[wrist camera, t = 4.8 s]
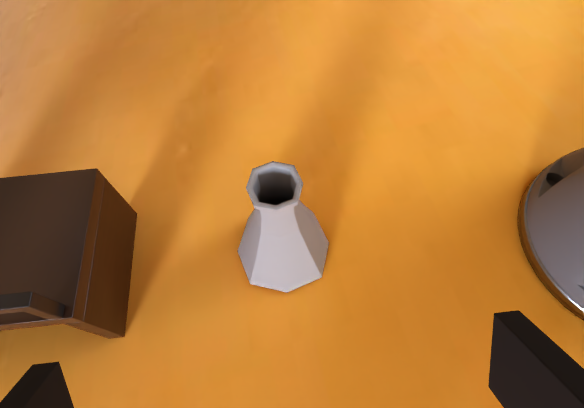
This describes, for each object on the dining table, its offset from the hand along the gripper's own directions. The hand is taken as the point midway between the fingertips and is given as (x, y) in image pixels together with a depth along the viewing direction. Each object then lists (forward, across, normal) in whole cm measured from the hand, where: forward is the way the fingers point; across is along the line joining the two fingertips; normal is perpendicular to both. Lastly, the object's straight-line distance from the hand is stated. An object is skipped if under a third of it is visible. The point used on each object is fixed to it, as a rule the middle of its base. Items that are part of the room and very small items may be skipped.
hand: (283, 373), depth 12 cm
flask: (+18, 0, -4) cm, 19 cm away
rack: (+18, -19, -4) cm, 26 cm away
